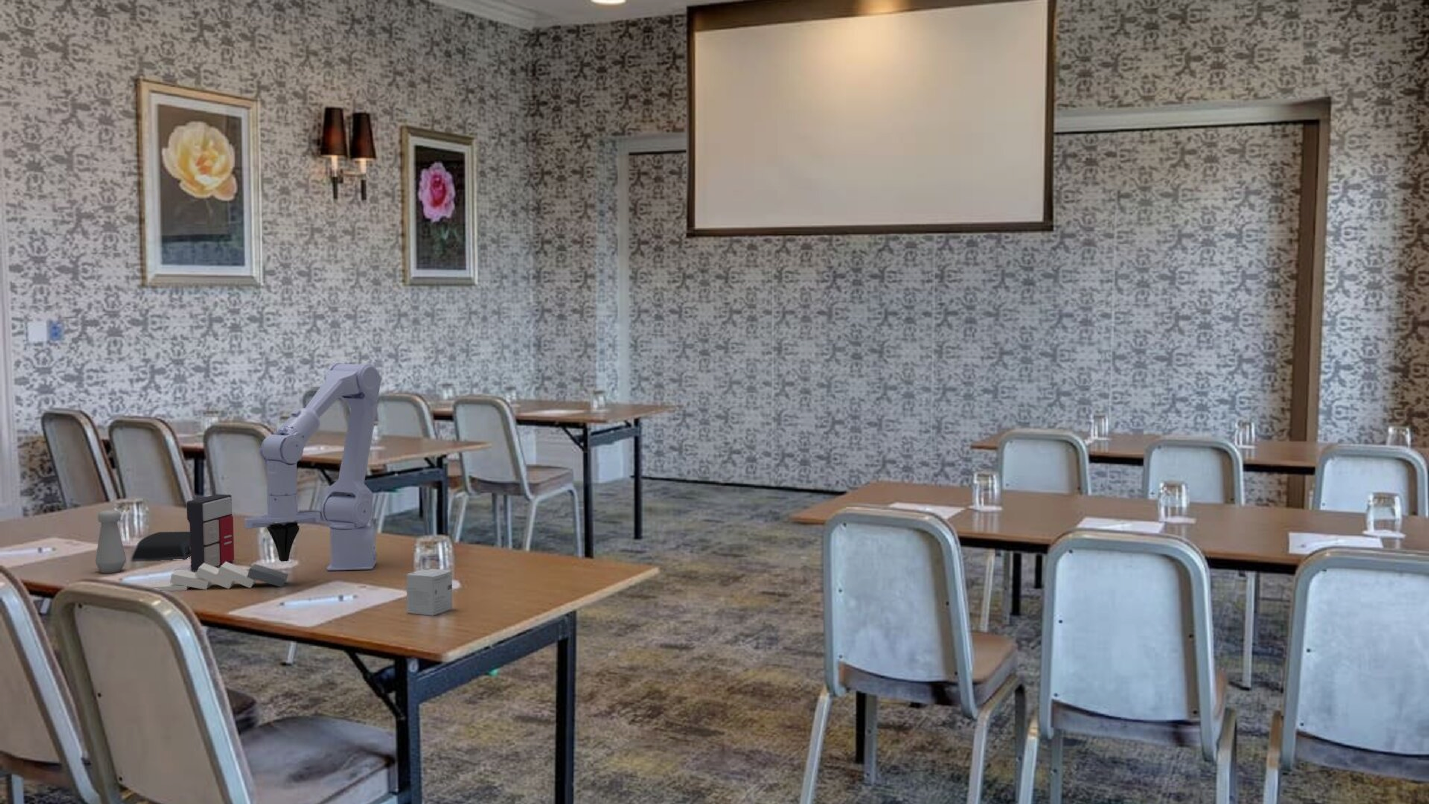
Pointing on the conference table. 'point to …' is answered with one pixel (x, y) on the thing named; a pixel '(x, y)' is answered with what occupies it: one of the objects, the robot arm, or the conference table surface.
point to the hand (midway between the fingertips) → (283, 560)
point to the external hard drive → (163, 547)
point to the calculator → (211, 530)
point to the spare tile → (267, 575)
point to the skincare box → (429, 591)
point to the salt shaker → (110, 543)
